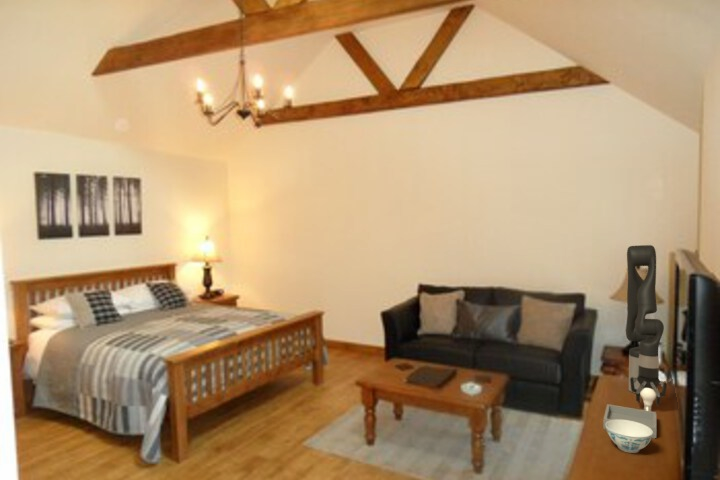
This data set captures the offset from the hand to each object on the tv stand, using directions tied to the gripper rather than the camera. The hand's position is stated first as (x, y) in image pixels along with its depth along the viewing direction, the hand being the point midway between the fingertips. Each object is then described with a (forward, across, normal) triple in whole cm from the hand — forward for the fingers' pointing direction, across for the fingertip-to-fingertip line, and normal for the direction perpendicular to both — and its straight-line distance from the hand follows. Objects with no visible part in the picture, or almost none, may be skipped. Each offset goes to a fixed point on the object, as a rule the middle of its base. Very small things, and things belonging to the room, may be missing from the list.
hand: (647, 403), depth 212 cm
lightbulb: (+4, 0, 0) cm, 4 cm away
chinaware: (+4, +6, +43) cm, 44 cm away
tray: (+4, +6, +20) cm, 21 cm away
